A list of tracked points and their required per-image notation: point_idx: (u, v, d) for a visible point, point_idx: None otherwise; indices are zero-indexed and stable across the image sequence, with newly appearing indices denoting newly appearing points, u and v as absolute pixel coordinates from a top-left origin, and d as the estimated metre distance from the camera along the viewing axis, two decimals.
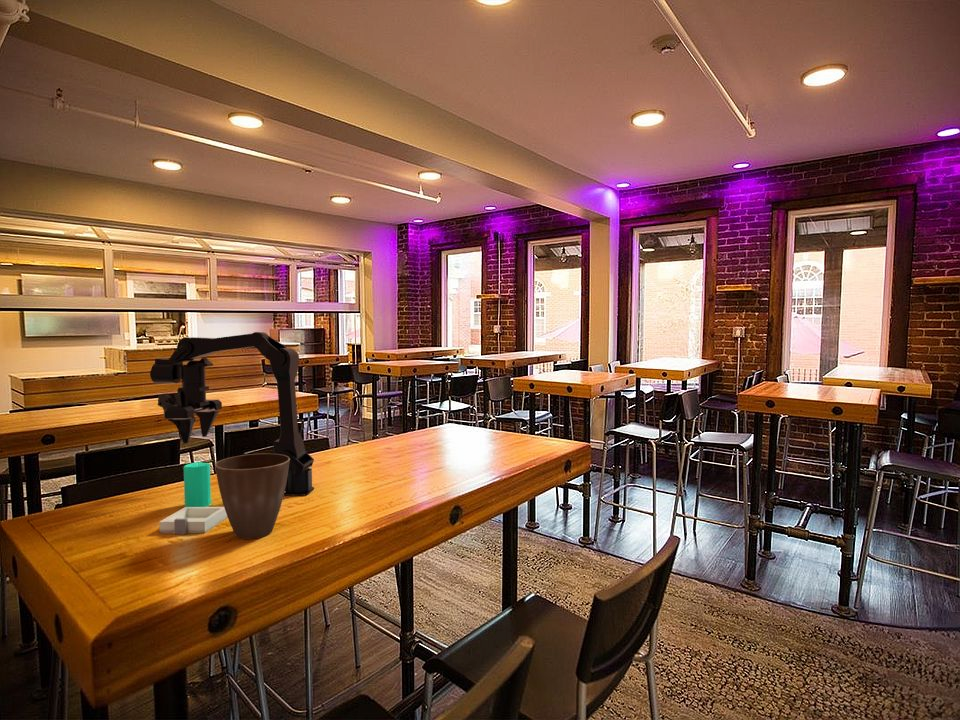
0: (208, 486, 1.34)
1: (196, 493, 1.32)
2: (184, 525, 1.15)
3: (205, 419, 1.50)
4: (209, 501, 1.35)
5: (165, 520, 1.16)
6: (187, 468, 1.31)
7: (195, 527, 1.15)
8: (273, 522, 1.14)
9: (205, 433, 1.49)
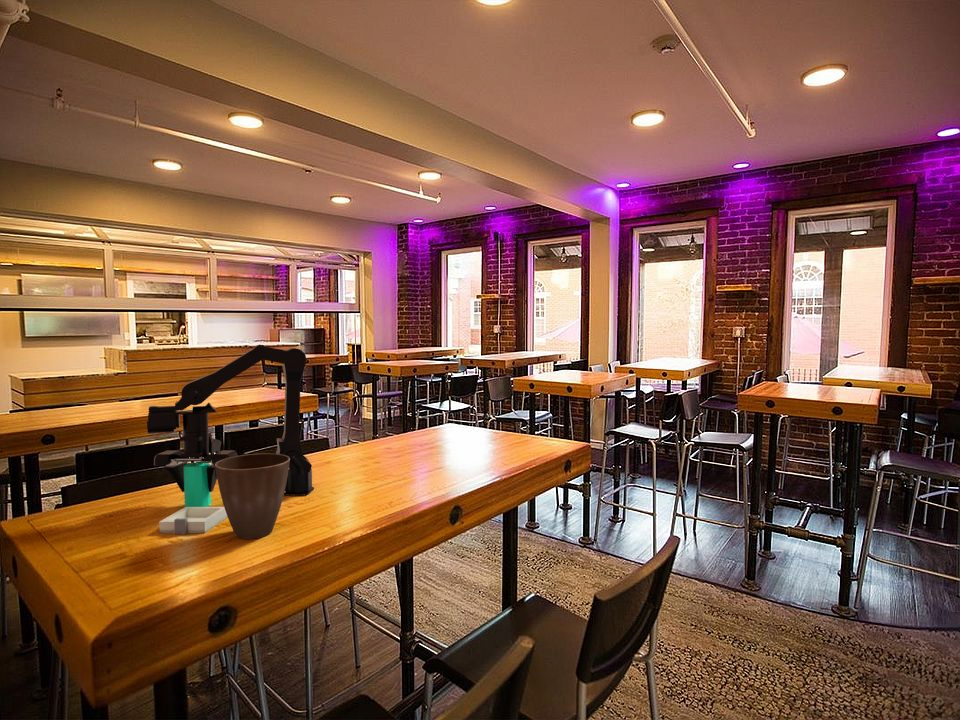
0: None
1: (196, 493, 1.32)
2: (184, 525, 1.15)
3: None
4: (209, 501, 1.35)
5: (165, 520, 1.16)
6: (187, 468, 1.31)
7: (195, 527, 1.15)
8: (273, 522, 1.14)
9: None
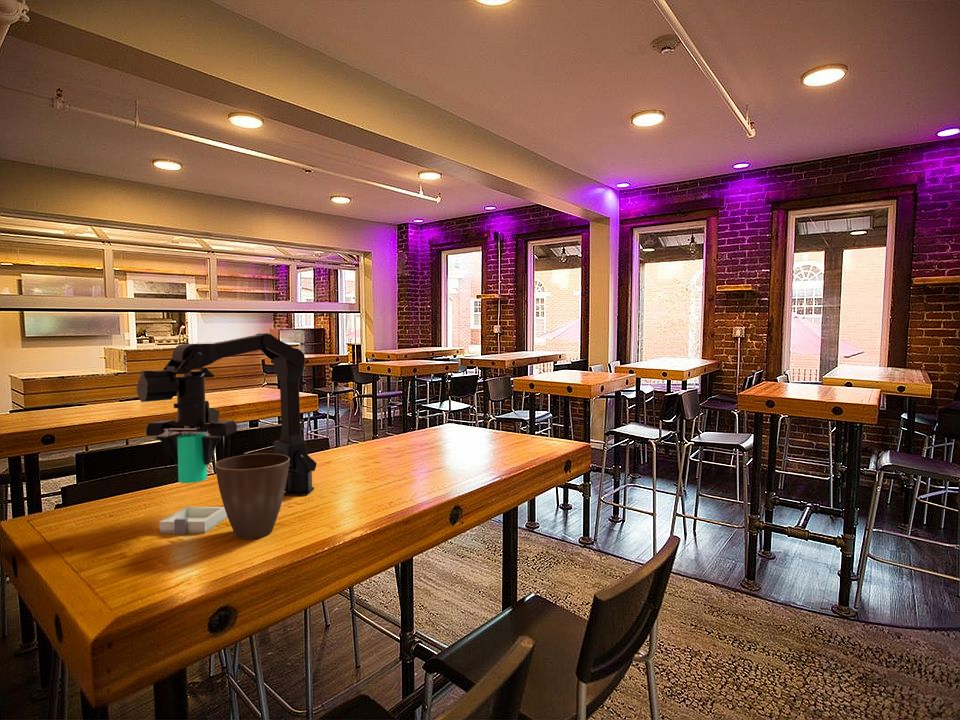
0: None
1: (197, 465, 1.21)
2: (184, 525, 1.15)
3: None
4: (206, 474, 1.24)
5: (165, 520, 1.16)
6: (186, 438, 1.20)
7: (195, 527, 1.15)
8: (273, 522, 1.14)
9: None
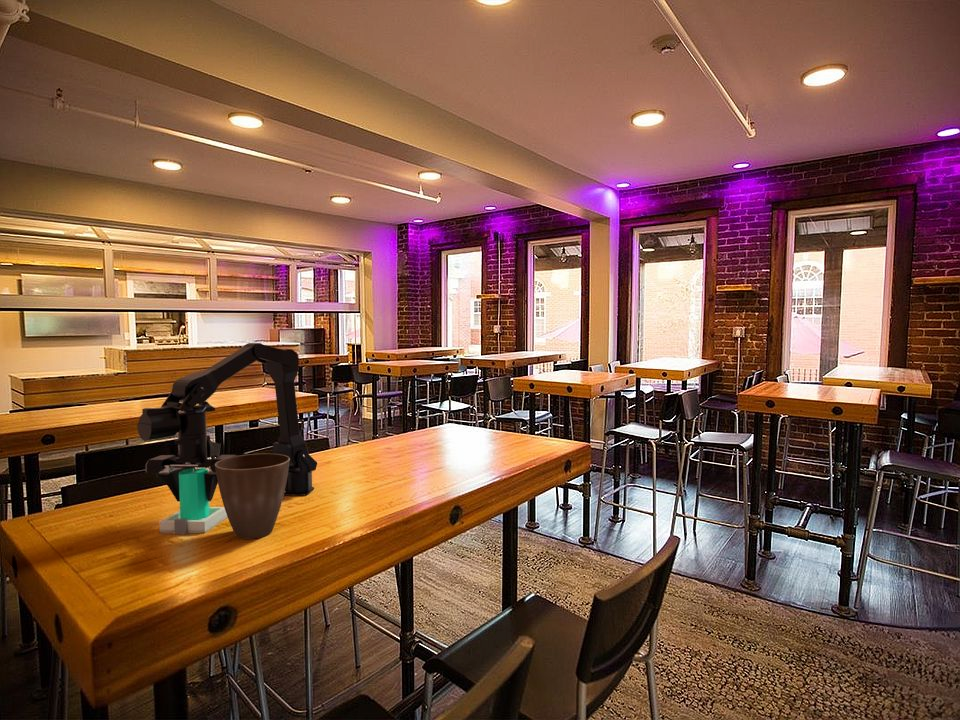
0: None
1: (199, 502, 1.18)
2: (184, 525, 1.15)
3: None
4: None
5: (165, 520, 1.16)
6: (187, 475, 1.17)
7: (195, 527, 1.15)
8: (273, 522, 1.14)
9: None
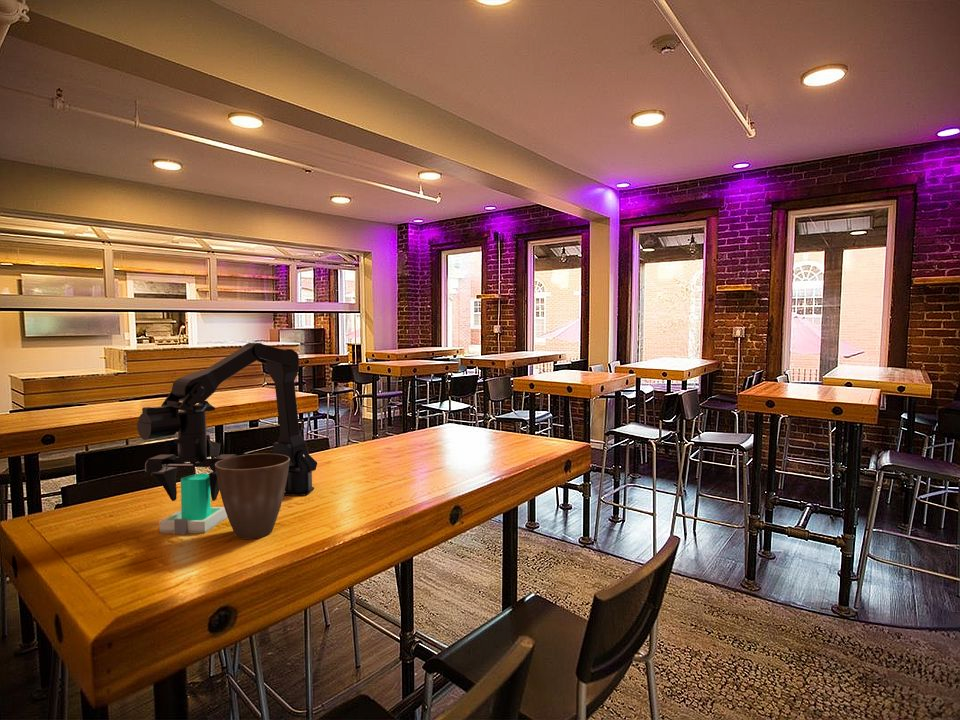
0: (200, 503, 1.18)
1: (186, 509, 1.17)
2: (184, 525, 1.15)
3: None
4: None
5: (165, 520, 1.16)
6: None
7: (195, 527, 1.15)
8: (273, 522, 1.14)
9: None
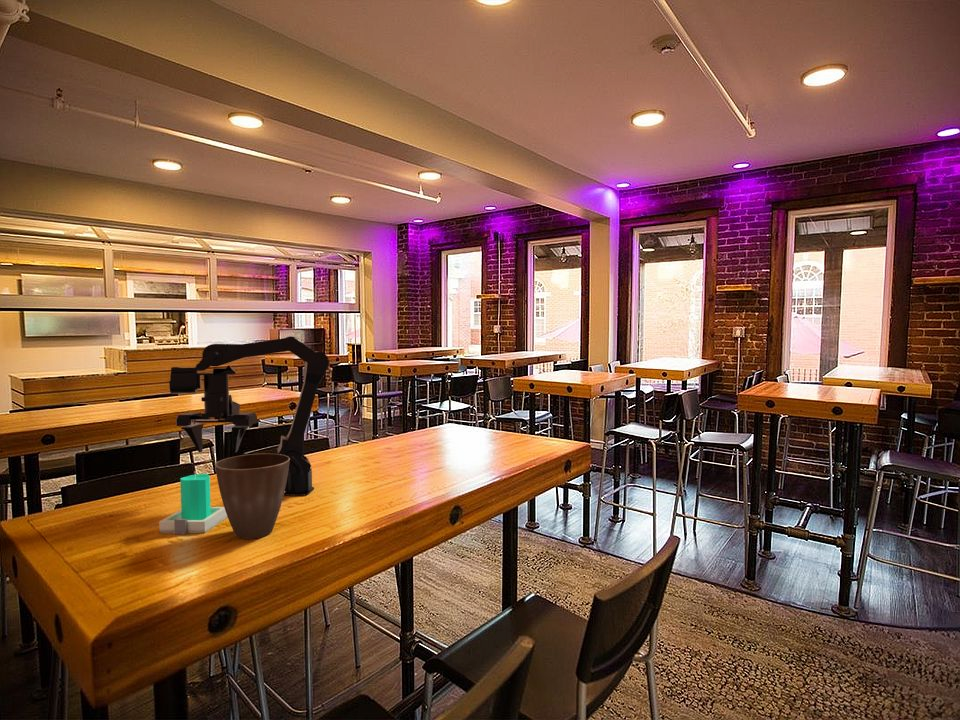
0: (200, 503, 1.18)
1: (185, 509, 1.17)
2: (184, 525, 1.15)
3: None
4: None
5: (165, 520, 1.16)
6: None
7: (195, 527, 1.15)
8: (273, 522, 1.14)
9: None
